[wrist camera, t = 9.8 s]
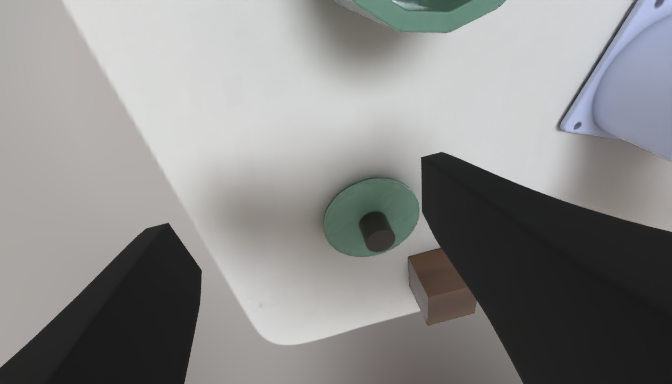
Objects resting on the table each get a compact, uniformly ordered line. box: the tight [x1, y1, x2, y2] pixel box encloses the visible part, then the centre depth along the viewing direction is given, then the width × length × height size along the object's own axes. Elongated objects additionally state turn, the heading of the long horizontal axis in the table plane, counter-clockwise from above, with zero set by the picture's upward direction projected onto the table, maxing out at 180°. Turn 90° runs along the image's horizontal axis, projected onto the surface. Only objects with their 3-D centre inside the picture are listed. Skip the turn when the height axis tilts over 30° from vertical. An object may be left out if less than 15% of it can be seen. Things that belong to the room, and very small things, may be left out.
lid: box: [324, 178, 419, 257], centre depth 21 cm, size 7×7×3 cm
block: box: [408, 248, 477, 326], centre depth 25 cm, size 4×4×4 cm
